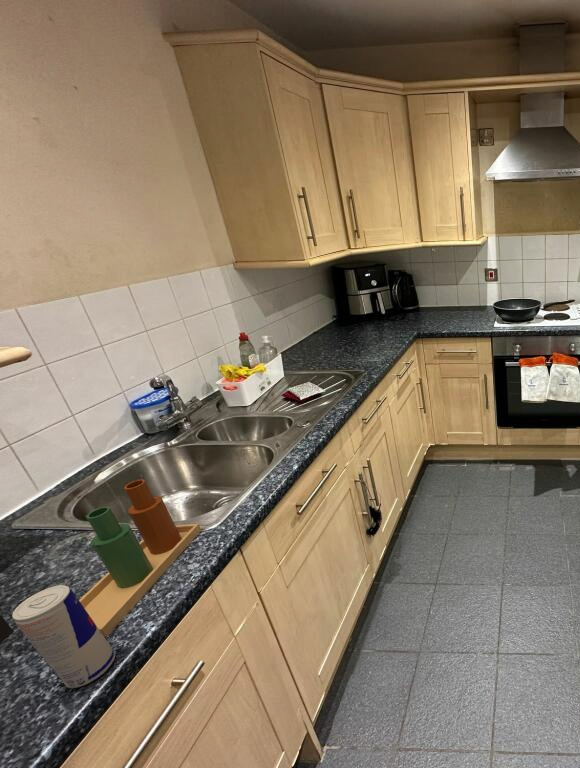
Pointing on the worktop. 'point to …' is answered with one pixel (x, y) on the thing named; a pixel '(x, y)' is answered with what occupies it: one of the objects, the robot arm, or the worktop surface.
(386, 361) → the worktop surface
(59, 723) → the worktop surface
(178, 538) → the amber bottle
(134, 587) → the tray
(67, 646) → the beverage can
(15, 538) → the worktop surface
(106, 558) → the green bottle
